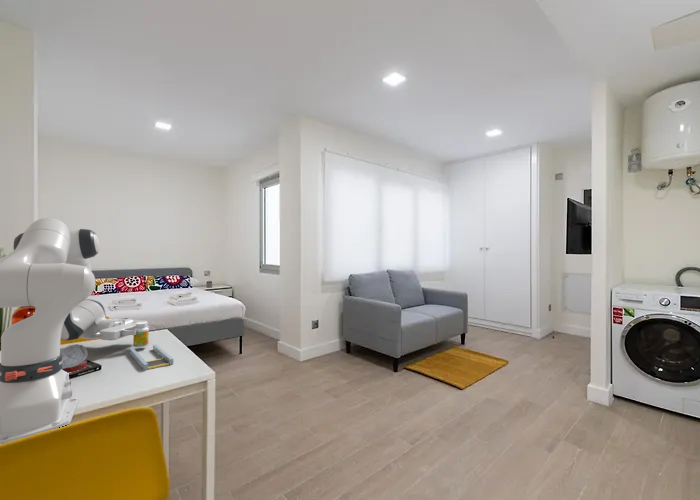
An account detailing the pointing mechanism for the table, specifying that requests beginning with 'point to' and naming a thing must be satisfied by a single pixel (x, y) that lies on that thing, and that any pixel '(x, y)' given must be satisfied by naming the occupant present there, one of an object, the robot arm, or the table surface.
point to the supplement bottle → (141, 335)
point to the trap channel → (152, 364)
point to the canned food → (74, 358)
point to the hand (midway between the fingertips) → (142, 330)
